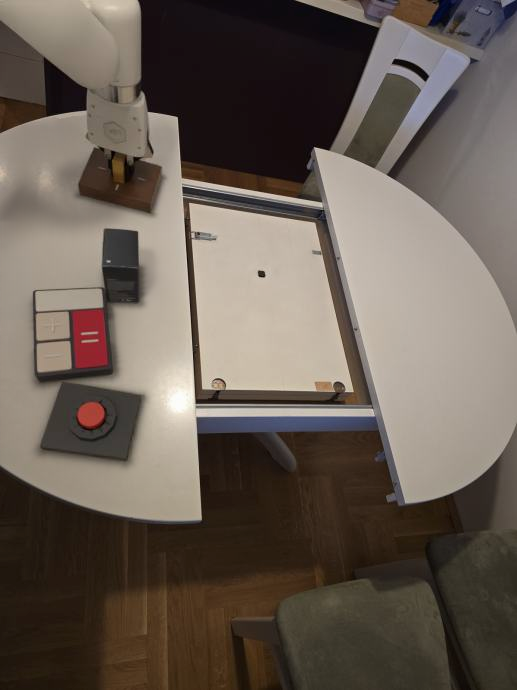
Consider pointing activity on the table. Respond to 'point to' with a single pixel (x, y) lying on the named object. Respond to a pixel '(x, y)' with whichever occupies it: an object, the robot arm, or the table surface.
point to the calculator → (71, 334)
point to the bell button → (91, 415)
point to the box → (121, 265)
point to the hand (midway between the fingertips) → (121, 173)
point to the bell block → (102, 440)
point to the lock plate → (129, 194)
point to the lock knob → (119, 167)
